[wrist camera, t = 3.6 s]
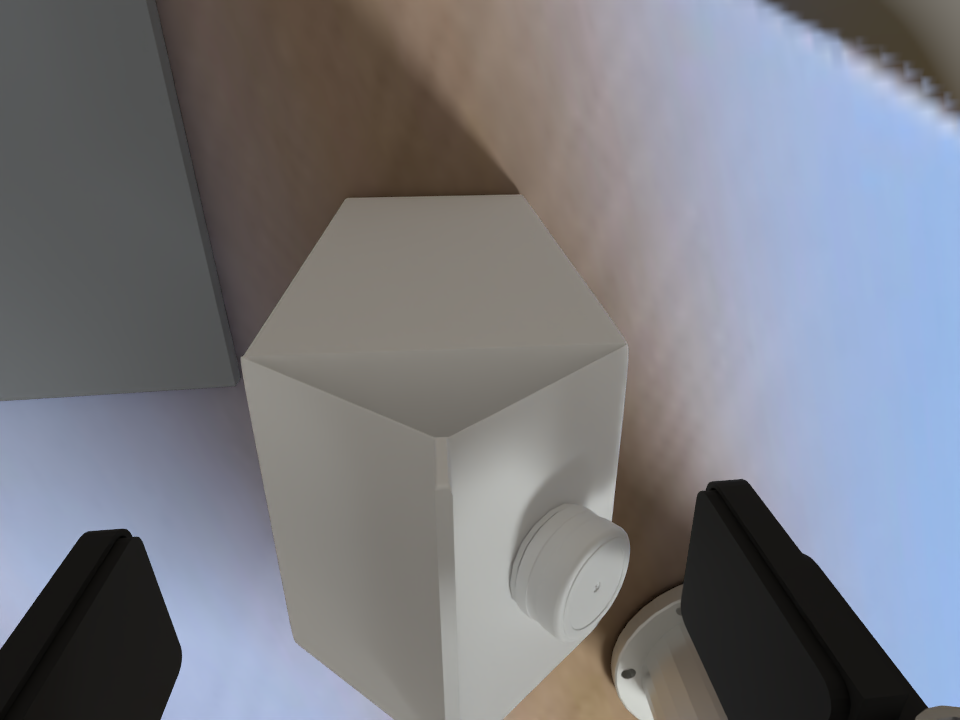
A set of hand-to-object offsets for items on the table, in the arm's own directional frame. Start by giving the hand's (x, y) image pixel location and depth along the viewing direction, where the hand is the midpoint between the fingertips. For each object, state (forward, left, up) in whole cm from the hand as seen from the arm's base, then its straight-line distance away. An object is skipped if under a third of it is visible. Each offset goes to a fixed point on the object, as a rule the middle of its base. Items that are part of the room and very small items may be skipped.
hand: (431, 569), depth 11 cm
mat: (+17, -4, -17) cm, 24 cm away
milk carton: (0, 0, -17) cm, 17 cm away
